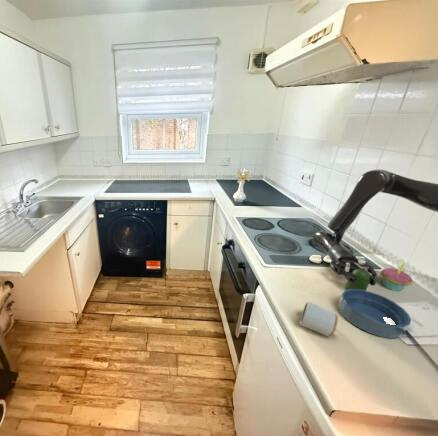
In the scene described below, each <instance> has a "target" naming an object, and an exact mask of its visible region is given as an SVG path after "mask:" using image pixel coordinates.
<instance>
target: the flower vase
mask: <svg viewBox="0 0 438 436" xmlns="http://www.w3.org/2000/svg"><path fill="white" fill-rule="evenodd" d="M233 177H234V179H237V182H236V183H237V184H239V185H238V189H237V190H236V192H234V194H233V196H232V197H233V199H234V201H235V202H237V203H243V202H244V200H246V199H247V195H246V193H245V192H244V185H245V184H246V180H247V181H248V182H250V180H253V172H252V171H251V169H249V168H248V169H247V167H243V170H242V169H240V168H237V171H235V173H234V176H233Z"/></svg>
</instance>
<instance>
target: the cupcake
mask: <svg viewBox="0 0 438 436" xmlns="http://www.w3.org/2000/svg"><path fill="white" fill-rule="evenodd" d="M405 264H406V262H403V263H401V265H400V266H399V268H394V267H387V268H383V269H381V271H380V273H379V275H380V276H381V277H382V280H383V281H382V282H383V283H382V284H383V286H384V287H386V288H387V289H389V290H392V291H396V292H399V291H401V290H402V289H403V288H405V287H408V286H411V285H412V283H413V279H412V277H411V275H410V274H408V273H407V272H405V271H403V268H404V266H405Z"/></svg>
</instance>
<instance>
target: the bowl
mask: <svg viewBox="0 0 438 436" xmlns="http://www.w3.org/2000/svg"><path fill="white" fill-rule="evenodd" d="M337 309H338V311H339V312H340V314H341V315H342V317H343V318H345V319H346V320H347V321H348V322H349V323H351V324H352V325H354V326H355V327H357V328H359V329H361V330H363V331H364V332H367V333H369V334H373V335H375V336H378V337H382V338H387V339H399V338H400V337H402V336H404V335H405V333H406V332H407V330H408V328H409V326H410V324H411V322H412V318H411V316H410V313H408V312H407V311H406V310H405V309H404V307H402V306H401V305H399V304H398V303H397V302H395V301H393V300H391V299H390V298H388V297H385V296H383V295H381V294H378V293H376V292H373V291H369V290H367V289H366V290H360V289H348V290H344V291H343V292H342V293H341V295H340V298H339V300H338V303H337ZM383 317H387V318H391V319H392V320H393V321H394V322H395V324H396V325H390V324H386V322H385V321H384V319H383Z"/></svg>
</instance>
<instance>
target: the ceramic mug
mask: <svg viewBox="0 0 438 436" xmlns="http://www.w3.org/2000/svg"><path fill="white" fill-rule="evenodd" d="M303 307H304V308H303V310H302V313H301V316H300V320H299V325H300V326H301V327H304V328H306V329H309V330H311V331H314V332H316V333H318V334H321V335H323V336H327V337H331V336H333V335H334V334H335V332H336V329H337V326H338V322H339V316H338V315H337V314H336V313H335V312H333V311H331V310H329V309H327V308H325V307H322V306H319V305H317V304H315V303H312V302H310V301H306V303H305V305H304V306H303Z"/></svg>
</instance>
